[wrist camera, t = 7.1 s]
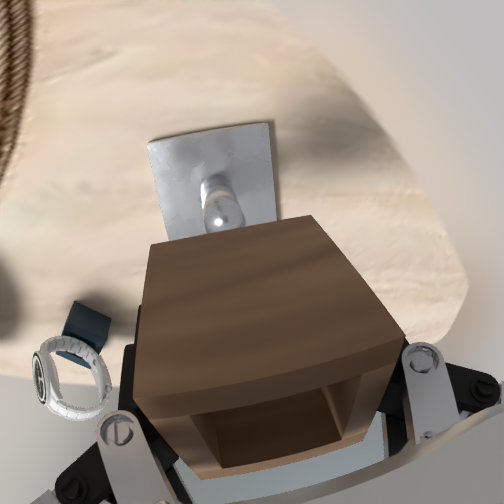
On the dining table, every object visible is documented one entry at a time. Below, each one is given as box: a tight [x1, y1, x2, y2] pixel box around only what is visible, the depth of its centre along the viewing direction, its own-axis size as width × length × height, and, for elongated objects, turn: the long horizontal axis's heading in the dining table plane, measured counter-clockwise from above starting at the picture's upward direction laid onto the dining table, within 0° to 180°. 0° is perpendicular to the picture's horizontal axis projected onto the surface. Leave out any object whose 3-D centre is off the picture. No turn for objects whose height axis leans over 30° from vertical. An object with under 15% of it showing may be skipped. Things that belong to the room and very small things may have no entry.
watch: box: [32, 301, 112, 421], centre depth 24 cm, size 6×8×11 cm
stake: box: [147, 122, 277, 241], centre depth 21 cm, size 9×9×8 cm
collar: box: [133, 215, 406, 480], centre depth 9 cm, size 6×6×6 cm
